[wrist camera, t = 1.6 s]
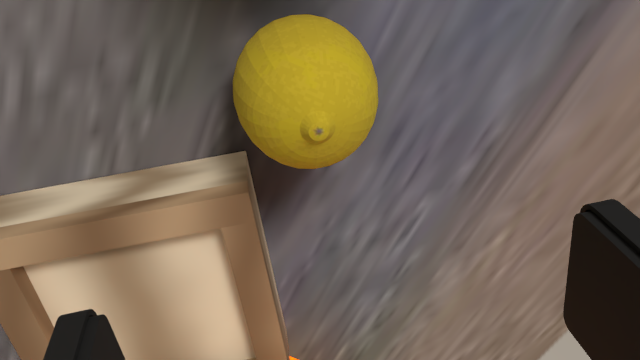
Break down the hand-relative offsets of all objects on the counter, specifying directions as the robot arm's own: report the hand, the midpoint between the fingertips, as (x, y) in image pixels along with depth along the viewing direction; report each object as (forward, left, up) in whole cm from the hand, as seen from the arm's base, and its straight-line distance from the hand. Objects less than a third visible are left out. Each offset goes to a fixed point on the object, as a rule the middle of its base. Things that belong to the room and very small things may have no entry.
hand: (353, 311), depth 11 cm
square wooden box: (+8, +10, -16) cm, 21 cm away
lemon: (-1, 0, -17) cm, 17 cm away
